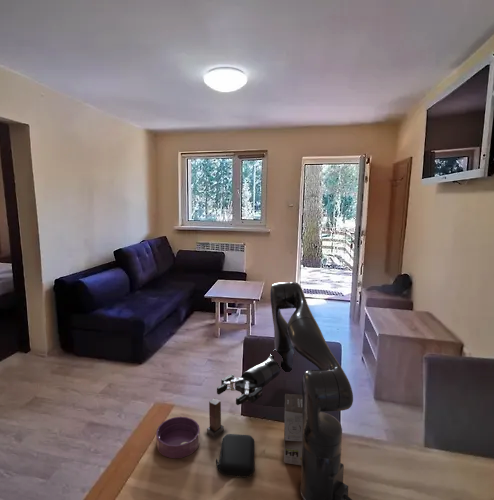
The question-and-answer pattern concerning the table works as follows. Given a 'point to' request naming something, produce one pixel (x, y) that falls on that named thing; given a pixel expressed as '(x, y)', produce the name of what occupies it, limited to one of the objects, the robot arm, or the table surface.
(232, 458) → the carrying case
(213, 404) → the brown wooden block
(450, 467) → the table surface
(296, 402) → the coffee box
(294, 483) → the table surface
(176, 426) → the bowl
